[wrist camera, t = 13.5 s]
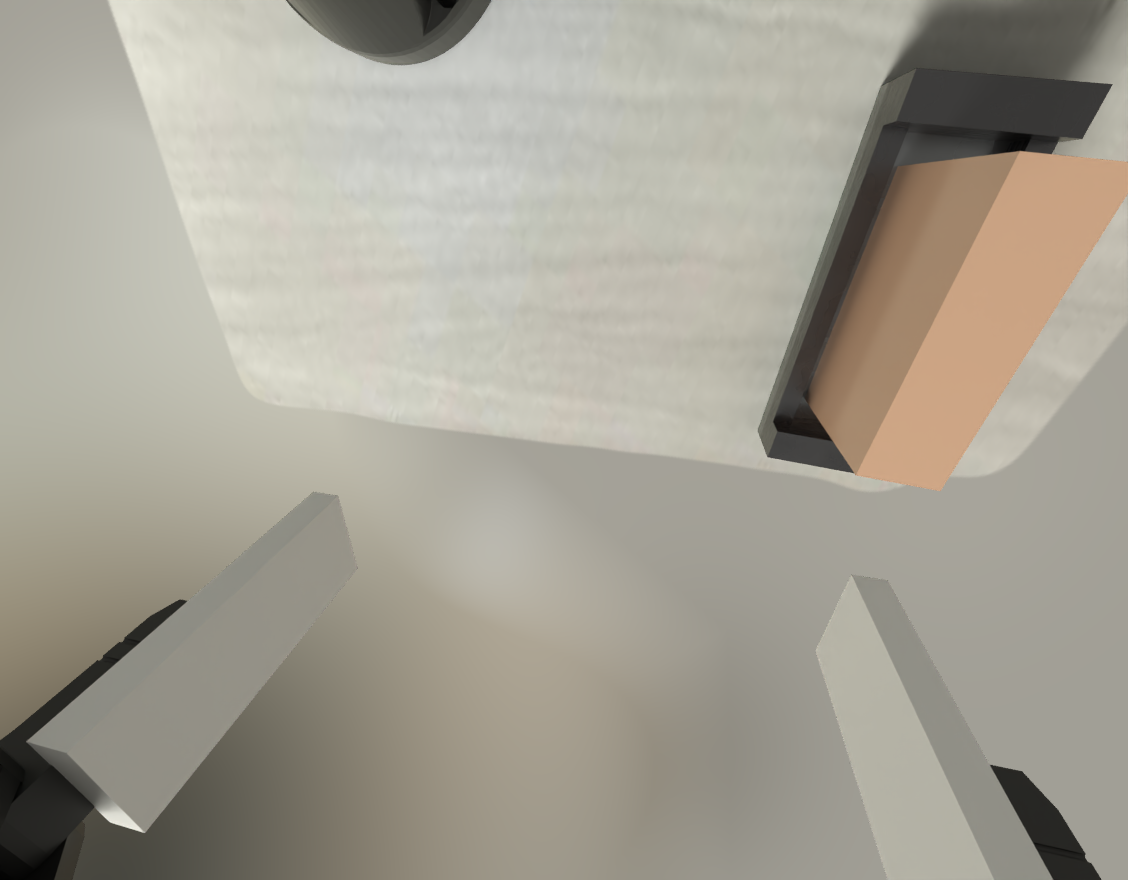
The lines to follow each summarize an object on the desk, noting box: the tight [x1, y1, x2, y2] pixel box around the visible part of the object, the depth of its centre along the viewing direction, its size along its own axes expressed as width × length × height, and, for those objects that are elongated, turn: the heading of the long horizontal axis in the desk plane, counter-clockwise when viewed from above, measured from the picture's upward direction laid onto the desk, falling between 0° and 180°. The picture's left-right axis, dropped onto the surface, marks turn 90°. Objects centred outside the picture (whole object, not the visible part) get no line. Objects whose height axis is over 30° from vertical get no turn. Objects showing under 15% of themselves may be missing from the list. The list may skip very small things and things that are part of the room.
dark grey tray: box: [758, 68, 1113, 473], centre depth 27 cm, size 21×8×4 cm, turn 174°
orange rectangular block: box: [805, 151, 1128, 491], centre depth 24 cm, size 14×4×10 cm, turn 174°
